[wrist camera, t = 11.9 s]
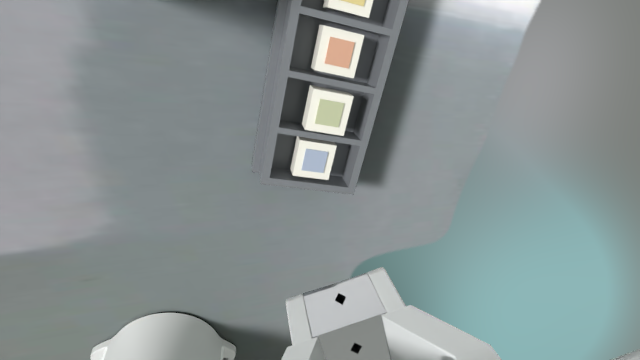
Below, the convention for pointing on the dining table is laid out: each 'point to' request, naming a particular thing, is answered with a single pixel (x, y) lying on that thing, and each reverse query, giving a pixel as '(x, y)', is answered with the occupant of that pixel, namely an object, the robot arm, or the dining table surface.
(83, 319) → the dining table surface
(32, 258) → the dining table surface
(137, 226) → the dining table surface
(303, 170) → the white and blue block
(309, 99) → the key
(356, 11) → the key
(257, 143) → the grey compartment tray
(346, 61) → the key
